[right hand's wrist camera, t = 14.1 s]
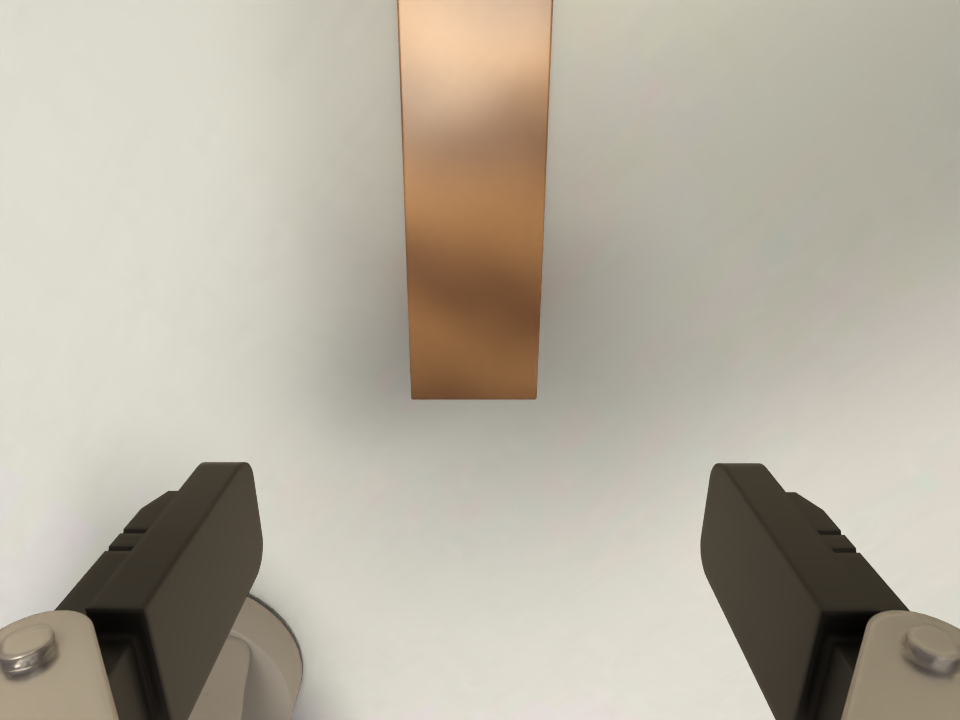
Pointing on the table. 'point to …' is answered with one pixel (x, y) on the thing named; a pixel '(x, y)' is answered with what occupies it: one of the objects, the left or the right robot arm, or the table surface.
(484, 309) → the beam
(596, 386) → the table surface
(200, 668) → the right robot arm
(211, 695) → the bust sculpture
